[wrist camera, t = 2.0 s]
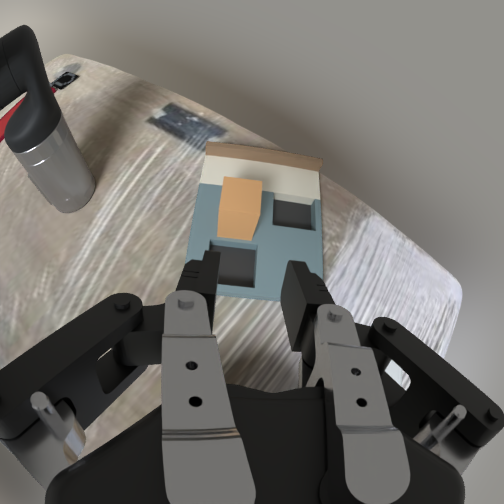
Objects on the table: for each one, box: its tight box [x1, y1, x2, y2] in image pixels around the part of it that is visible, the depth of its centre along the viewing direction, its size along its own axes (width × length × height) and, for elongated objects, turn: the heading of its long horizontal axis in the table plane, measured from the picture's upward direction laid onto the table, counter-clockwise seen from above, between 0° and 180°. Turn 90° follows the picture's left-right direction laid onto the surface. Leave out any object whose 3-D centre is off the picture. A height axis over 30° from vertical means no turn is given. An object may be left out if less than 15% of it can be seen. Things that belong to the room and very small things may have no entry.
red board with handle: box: [0, 72, 78, 142], centre depth 49 cm, size 30×3×15 cm
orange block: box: [217, 176, 262, 241], centre depth 38 cm, size 5×5×8 cm
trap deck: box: [185, 141, 323, 301], centre depth 43 cm, size 20×24×5 cm
